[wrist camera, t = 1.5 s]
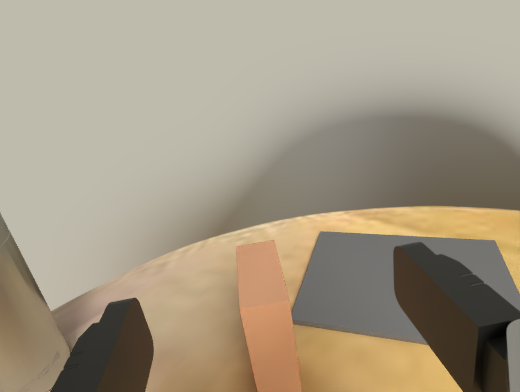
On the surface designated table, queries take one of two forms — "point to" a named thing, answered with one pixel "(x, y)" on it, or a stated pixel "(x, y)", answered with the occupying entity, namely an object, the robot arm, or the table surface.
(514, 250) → the table surface
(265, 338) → the card box
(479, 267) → the mat
